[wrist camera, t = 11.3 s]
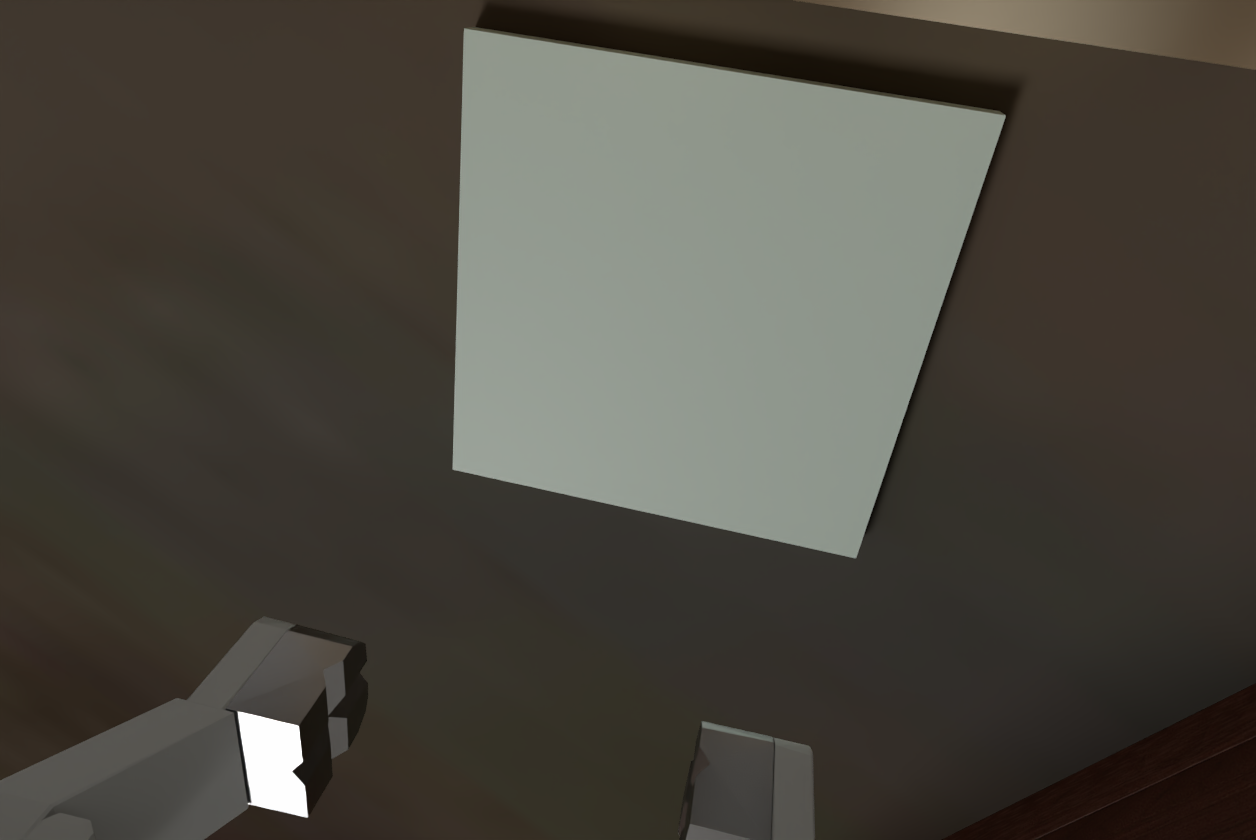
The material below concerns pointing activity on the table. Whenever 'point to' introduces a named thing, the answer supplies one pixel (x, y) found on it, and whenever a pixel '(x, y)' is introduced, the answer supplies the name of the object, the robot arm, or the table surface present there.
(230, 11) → the table surface
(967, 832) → the storage cube
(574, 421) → the sage board
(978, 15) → the frame
